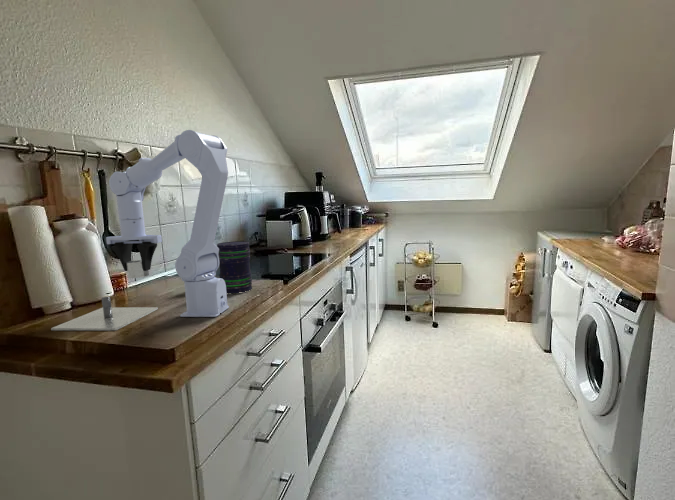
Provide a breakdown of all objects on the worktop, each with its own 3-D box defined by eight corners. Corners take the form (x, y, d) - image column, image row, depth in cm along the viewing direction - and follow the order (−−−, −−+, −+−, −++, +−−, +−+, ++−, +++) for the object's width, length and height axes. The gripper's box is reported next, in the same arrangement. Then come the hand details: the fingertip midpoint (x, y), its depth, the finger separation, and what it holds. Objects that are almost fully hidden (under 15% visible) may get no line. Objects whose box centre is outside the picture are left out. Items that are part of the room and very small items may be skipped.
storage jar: (228, 286, 122) (225, 241, 120) (257, 286, 121) (254, 240, 119) (214, 294, 113) (210, 245, 111) (245, 294, 111) (241, 244, 109)
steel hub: (152, 274, 101) (150, 259, 101) (140, 278, 97) (139, 262, 96) (135, 274, 102) (134, 260, 101) (123, 278, 97) (122, 263, 97)
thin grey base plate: (157, 309, 99) (155, 289, 98) (115, 330, 83) (112, 306, 82) (102, 309, 101) (100, 289, 100) (51, 330, 85) (47, 307, 84)
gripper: (166, 217, 100) (171, 267, 102) (117, 219, 102) (123, 267, 104) (150, 219, 93) (155, 272, 95) (97, 220, 95) (104, 272, 97)
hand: (137, 270), depth 99 cm, fingers closed on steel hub, 5 cm apart
